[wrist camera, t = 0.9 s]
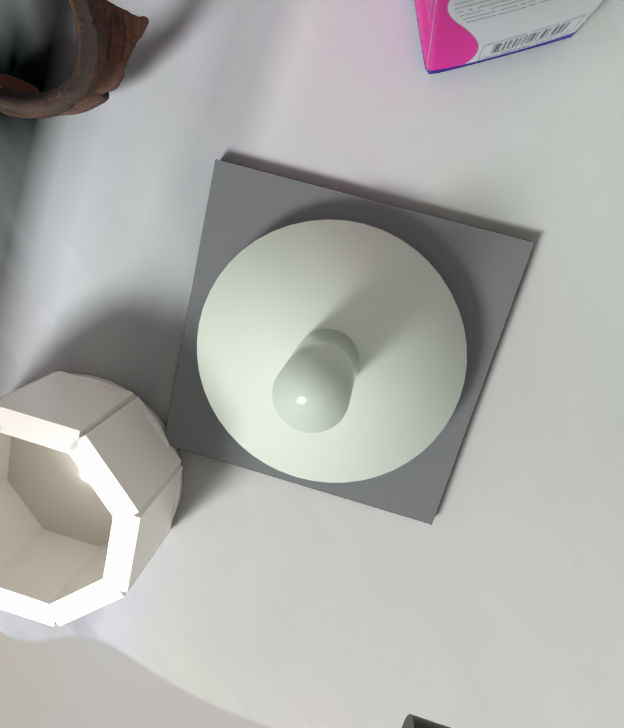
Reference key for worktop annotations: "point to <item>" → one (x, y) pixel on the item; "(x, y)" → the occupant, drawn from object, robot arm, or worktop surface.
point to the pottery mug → (81, 64)
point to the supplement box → (493, 28)
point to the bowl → (80, 494)
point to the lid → (332, 351)
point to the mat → (423, 232)
